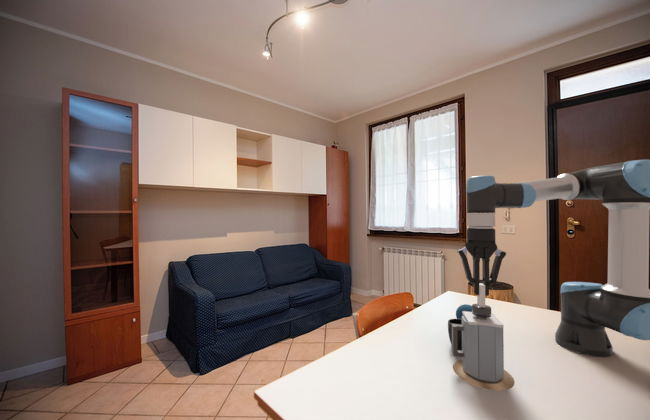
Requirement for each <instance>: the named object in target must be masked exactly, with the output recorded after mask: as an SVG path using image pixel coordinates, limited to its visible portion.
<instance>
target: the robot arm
mask: <svg viewBox="0 0 650 420" xmlns="http://www.w3.org/2000/svg"><path fill="white" fill-rule="evenodd" d="M465 187H466V189H465V194H466V226H467V229H466V243H465V244H464V247H463V248H461V249H457V254H458V255H459V256H460V259H461V263H462V266H463V270H464V273H465V277H466V280H467V281H468V282H469V283H472V285H473V293H474V295H475V296H476V298H477V300H476V301H477V302H476V304H478V306H479V307H484V308H485V305H486V296H487V297H488V296H489V295H490V286H491V285H493V284H496V283H497V280H498V277H499V274H500V273H499V272H500V269H501V266H502V263H503V259H504V258H505V257H506V256H507V252H505V251H504V250H502V249H499V248H498V245H497V242H496V229H495V228H494V227H496V209H523V208H530V207H532V206H533V204H534V203H535V202H541V201H542V202H543V201H549V200H550V201H551V200H557V199H561V200H562V201H563V200H564V201H570V200H594V201H595V200H598V201H599V200H601V205H602V206H603V207H605V208H607V210H608V235H607V236H608V237H607V238H608V239H607V241H608V242H607V246H608V247H607V283H605V284H602V283H597V282H596V283H595V282H587V281H586V282H585V281H565V282H563V283H562V284H561V285H560V292H559V293H560V299H559V300H560V322H559V325H558V327H557V329H556V331H555V334H554V337H555V338H554V340H555V342H556V343H557V344H558V345H559V346H561V347H563V348H564V349H567V350H570V351H572V352H575V353H578V354H583V355H587V356H592V357H597V358H598V357H599V358H600V357H601V358H606V357H607V358H608V357H611V356H613V355H614V353H613V351H614V349H613V346H612V342H611V341H610V337H609V335H608V333H607V331H606V329H609V330H612V331H614V332H617V333H620V334H622V335H623V336H626V337H629V338H630V337H631V338H634V339H637V340H641V341H650V287H649V283H650V281H649V272H650V270H649V269H650V267H649V266H650V263H649V262H650V261H649V260H650V159H636V160H627V161H623V162H616V163H610V164H604V165H597V166H593V167H588V168H584V169H581V170H578V171H573V172H567V173H562V174H559V175H557V176H556V177H550V178H544V179H535V180H528V181H520V182H511V183H509V182H508V183H505V182H504V183H500V182H499V183H498V182H496V178H495V176H493V175H476V176H475V175H474V176H470V177H469V178H467V180H466V186H465ZM468 253H469V254H470V256H471V257H472V270H471V268H470V264H469V261H468V257H467V255H468ZM493 254H494V255H495V257H494V260H493V262H492V267H491V271H490V261H491V260H490V258H491V257H492V256H493ZM480 261H482V264H481V265H482V283H481V282H480V276H481V275H480V273H481V272H480V270H481V269H480V268H481V267H480V263H481V262H480ZM471 271H472V272H471Z"/></svg>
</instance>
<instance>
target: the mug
mask: <svg viewBox="0 0 650 420" xmlns="http://www.w3.org/2000/svg"><path fill="white" fill-rule="evenodd" d="M452 324H460V325H462V319H457V318H450V319H448V321H447V331H448V337H449V342H450V345H451V346H452ZM457 341H458V350H461V351H462V331H461V330H457Z"/></svg>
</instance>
